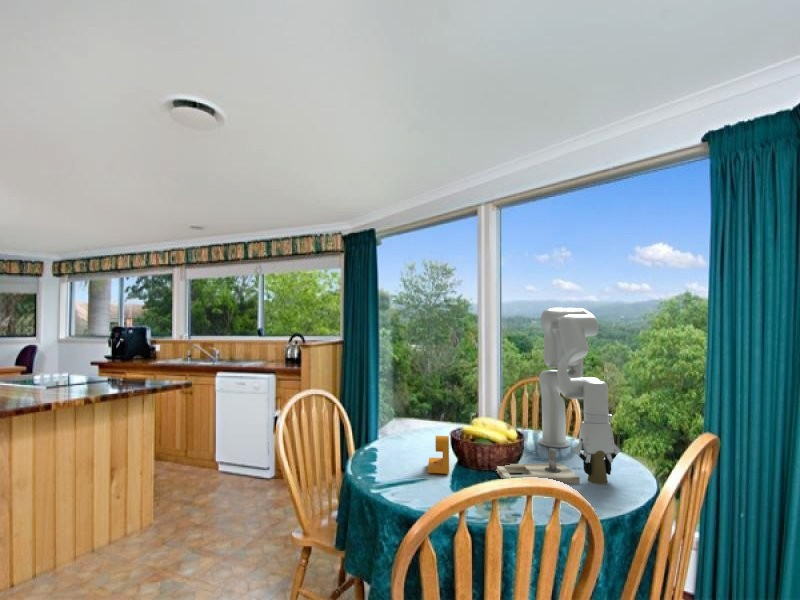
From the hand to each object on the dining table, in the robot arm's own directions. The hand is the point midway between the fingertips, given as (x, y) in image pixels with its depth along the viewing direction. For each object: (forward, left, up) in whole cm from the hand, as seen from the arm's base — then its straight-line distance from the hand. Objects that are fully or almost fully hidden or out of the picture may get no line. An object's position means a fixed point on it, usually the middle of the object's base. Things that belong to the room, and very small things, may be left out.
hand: (597, 473), depth 142 cm
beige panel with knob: (-5, -19, -3) cm, 20 cm away
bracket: (-13, -51, -3) cm, 53 cm away
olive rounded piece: (0, 0, -3) cm, 3 cm away
